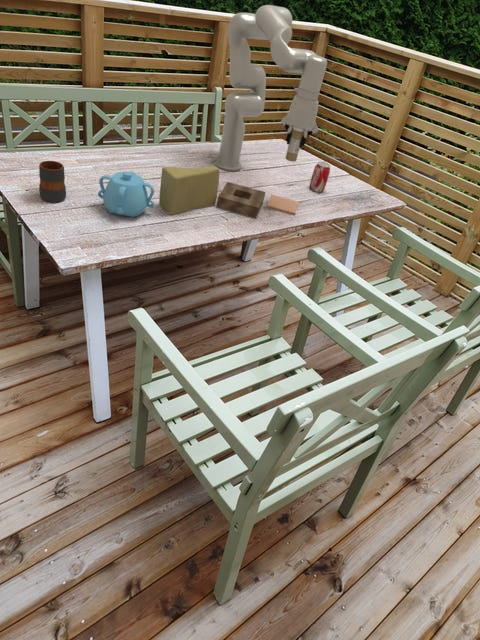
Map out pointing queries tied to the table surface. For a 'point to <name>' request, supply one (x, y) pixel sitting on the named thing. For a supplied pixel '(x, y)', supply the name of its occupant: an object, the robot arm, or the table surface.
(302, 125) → the robot arm
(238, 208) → the frame
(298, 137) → the sprinkles bottle
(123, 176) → the decorative pot
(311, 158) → the table surface
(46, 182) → the mug
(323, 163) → the soda can
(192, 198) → the cheese
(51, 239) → the table surface
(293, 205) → the terracotta tile
